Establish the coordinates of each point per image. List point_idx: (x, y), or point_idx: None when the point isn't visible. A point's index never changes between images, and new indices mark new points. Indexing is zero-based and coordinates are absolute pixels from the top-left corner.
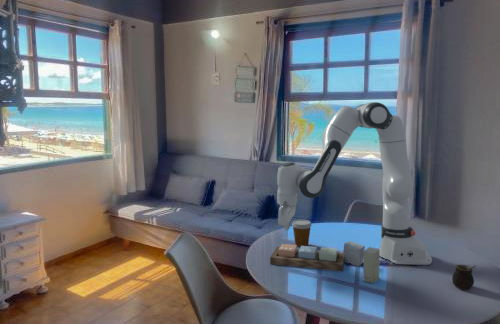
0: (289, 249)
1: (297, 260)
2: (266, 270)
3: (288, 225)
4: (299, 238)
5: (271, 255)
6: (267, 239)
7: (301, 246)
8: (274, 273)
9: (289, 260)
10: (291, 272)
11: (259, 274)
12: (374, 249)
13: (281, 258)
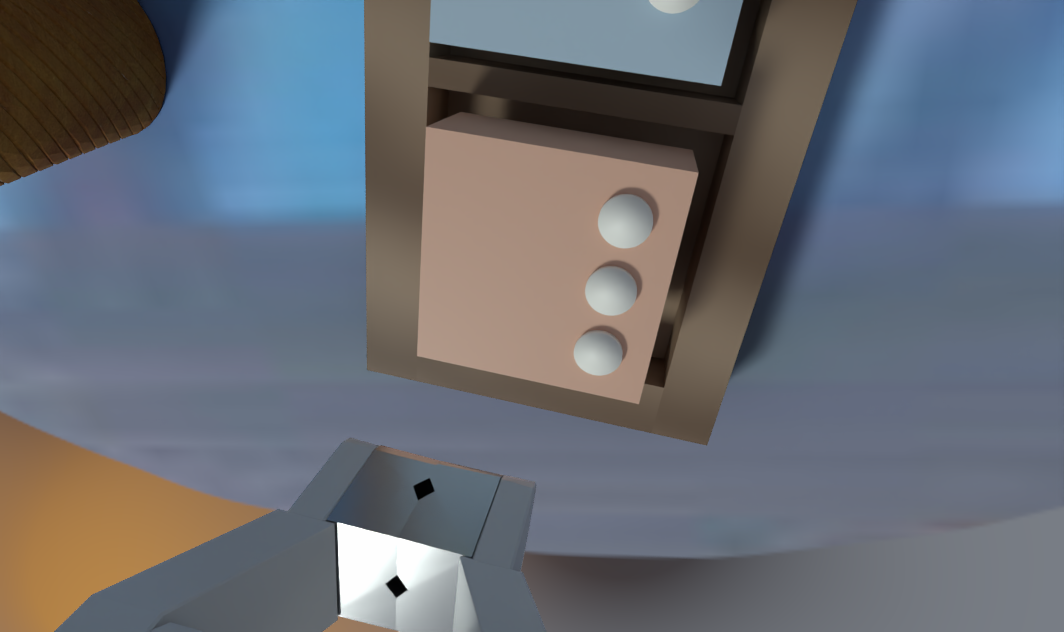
0: (636, 247)
1: (825, 87)
2: (884, 432)
3: (502, 605)
4: (65, 91)
5: (648, 430)
6: (102, 418)
7: (469, 34)
8: (987, 356)
9: (781, 209)
10: (996, 156)
11: (984, 493)
12: None
13: (748, 321)
